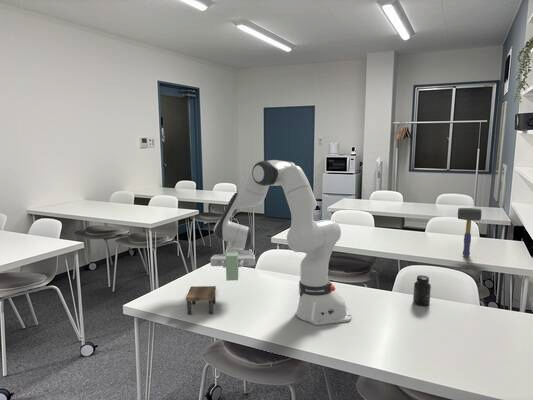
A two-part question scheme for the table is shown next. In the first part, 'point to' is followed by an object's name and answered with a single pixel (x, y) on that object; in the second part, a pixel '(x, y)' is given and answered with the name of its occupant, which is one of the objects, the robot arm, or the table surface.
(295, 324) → the table surface
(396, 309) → the table surface
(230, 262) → the green block
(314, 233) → the robot arm
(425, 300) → the supplement bottle
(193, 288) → the peg shelf
